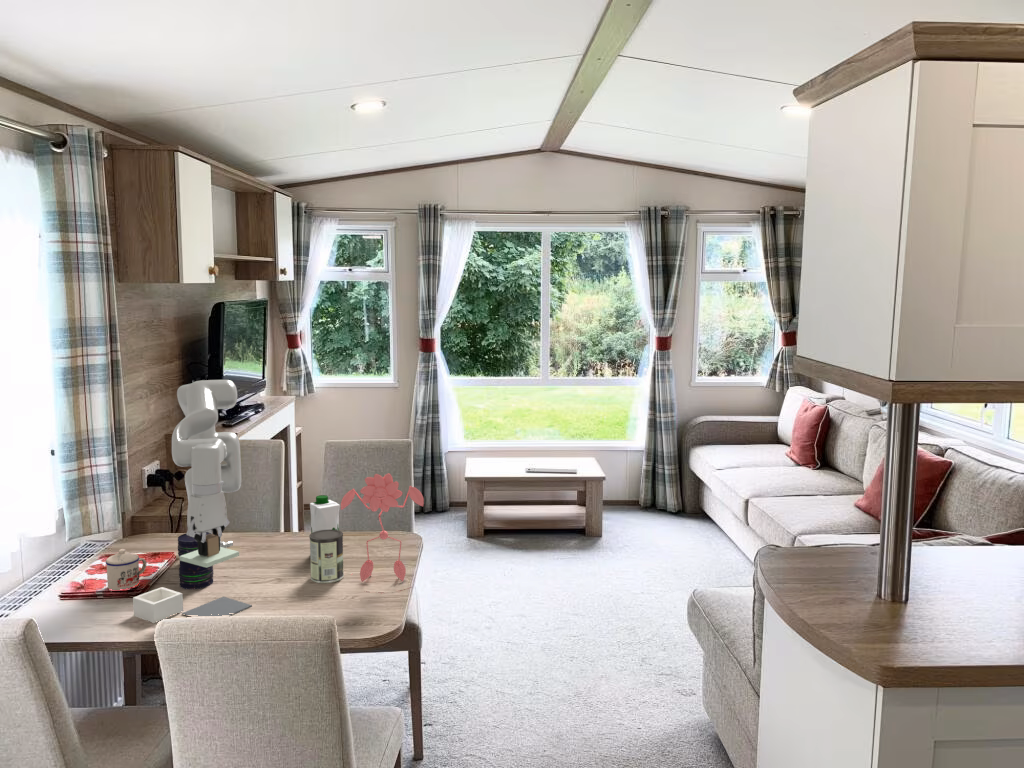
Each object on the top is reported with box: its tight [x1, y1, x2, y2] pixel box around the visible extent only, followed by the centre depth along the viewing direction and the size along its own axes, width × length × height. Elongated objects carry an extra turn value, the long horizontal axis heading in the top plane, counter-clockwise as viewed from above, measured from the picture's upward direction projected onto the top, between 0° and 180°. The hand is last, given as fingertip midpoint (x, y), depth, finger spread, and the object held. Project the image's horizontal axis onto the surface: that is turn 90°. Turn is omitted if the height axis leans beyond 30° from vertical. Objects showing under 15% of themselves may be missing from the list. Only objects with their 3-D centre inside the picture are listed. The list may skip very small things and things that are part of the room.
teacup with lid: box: [105, 548, 147, 590], centre depth 235 cm, size 12×9×12 cm
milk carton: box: [309, 494, 341, 534], centre depth 263 cm, size 9×9×20 cm
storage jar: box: [177, 532, 214, 591], centre depth 237 cm, size 10×10×15 cm
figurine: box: [340, 473, 425, 594], centre depth 237 cm, size 15×26×35 cm, turn 91°
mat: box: [181, 596, 253, 616], centre depth 218 cm, size 14×12×1 cm
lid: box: [179, 534, 240, 568], centre depth 216 cm, size 11×11×6 cm
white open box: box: [132, 586, 184, 624], centre depth 215 cm, size 9×9×6 cm
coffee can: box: [309, 529, 345, 584], centre depth 243 cm, size 10×10×14 cm
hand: (209, 552), depth 216 cm, fingers closed on lid, 3 cm apart
